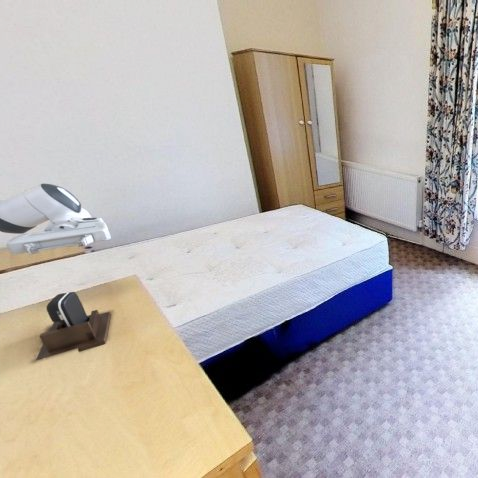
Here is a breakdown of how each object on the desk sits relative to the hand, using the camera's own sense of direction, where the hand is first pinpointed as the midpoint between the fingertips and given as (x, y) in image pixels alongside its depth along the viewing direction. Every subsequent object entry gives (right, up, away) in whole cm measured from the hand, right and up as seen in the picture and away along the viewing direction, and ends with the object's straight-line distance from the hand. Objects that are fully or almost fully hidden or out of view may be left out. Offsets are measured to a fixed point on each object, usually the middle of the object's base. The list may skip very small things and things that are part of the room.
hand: (57, 247), depth 88 cm
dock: (+9, -24, -3) cm, 26 cm away
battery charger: (+9, -23, -3) cm, 25 cm away
